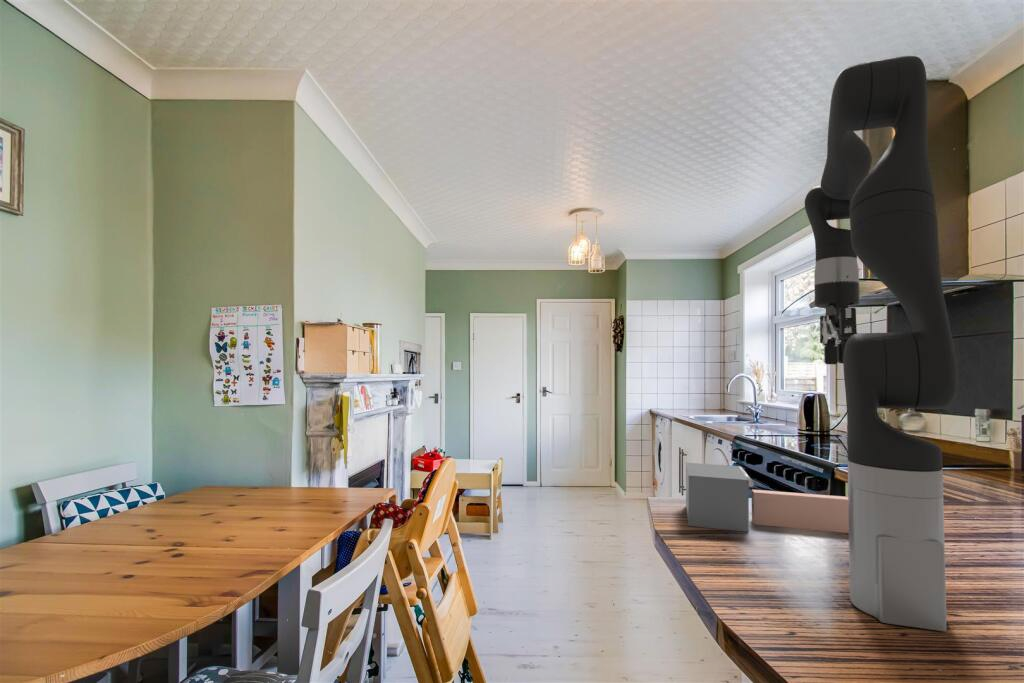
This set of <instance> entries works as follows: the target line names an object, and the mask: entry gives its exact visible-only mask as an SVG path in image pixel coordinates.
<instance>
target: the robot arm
mask: <svg viewBox="0 0 1024 683" xmlns="http://www.w3.org/2000/svg"><path fill="white" fill-rule="evenodd" d="M927 83H928V80H927V72H926V67H925V64H924V62H923V60H922V59H921V57H919V56H916V55H902V56H896V57H891V58H885V59H879V60H872V61H867V62H862V63H857V64H854V65H853V64H852V65H850V66H847V67H845V68H843V69H842V70H841V71H840V72H839V74H838V75H837V77H836V79H835V82H834V85H833V88H832V92H831V98H830V105H829V106H830V107H829V117H828V128H827V129H828V130H827V144H826V145H827V147H826V148H827V154H826V160H825V165H824V169H823V172H822V176H821V180H820V185H818V186H814V187H812V188H811V189H810V190H809V191H808V192H807V194H806V195H805V198H804V209H805V213H806V215H807V216H806V217H807V219H808V221H809V224H810V226H811V229H812V233H813V238H814V242H815V243H814V244H815V247H814V249H815V266H814V272H813V274H814V276H813V277H814V278H813V280H814V306H815V307H816V308H819V309H825V313H824V314H825V315H824V314H823V315H822V314H821V315H820V316H819V342H820V344H821V345H822V346H823V347H824V348H823V349H824V350H823V352H824V353H823V354H824V355H823V358H824V359H823V360H824V364H825V365H837V364H838V363H839V364H842V365H843V378H844V390H845V391H844V392H845V402H846V403H845V404H846V418H847V419H846V421H847V422H846V423H847V497H848V524H849V533H848V568H849V572H848V573H849V574H848V575H849V601H850V602H851V604H852V605H853V606H854V607H856V608H857V609H859V610H860V611H862V612H864V613H865V614H867V615H870V616H873V617H874V618H876V619H878V621H880V623H884V624H889V625H890V624H891V625H895V626H896V625H897V626H902V627H903V626H904V627H912V628H918V629H925V630H932V631H933V630H934V631H939V632H947V620H948V619H947V617H948V615H947V589H946V588H947V586H946V554H945V552H946V551H945V549H946V548H945V547H946V546H945V520H944V518H945V517H944V513H945V512H944V511H945V509H944V479H943V478H944V472H943V471H944V470H943V468H944V467H943V466H944V465H943V452H942V449H941V447H940V446H939V445H938V444H936V443H935V442H933V441H930V440H927V439H924V438H921V437H918V436H915V435H913V434H909V433H906V432H904V431H902V430H900V429H898V428H896V427H893V426H892V425H891V424H890V423H888V422H886V421H884V420H883V419H882V418H881V417H880V416H879V413H878V408H885V409H888V408H891V409H908V410H909V409H910V410H911V409H912V410H913V409H915V410H943V409H947V408H949V407H950V406H951V405H952V404H953V403H954V401H955V400H956V396H957V392H958V384H959V373H958V372H959V371H958V363H957V357H956V356H957V355H956V351H955V346H954V345H955V344H954V339H953V334H952V331H951V324H950V320H949V314H948V310H947V304H946V300H945V293H944V289H943V282H942V281H943V280H942V274H941V265H940V264H941V263H940V249H939V248H940V247H939V229H938V216H937V214H938V213H937V206H936V198H935V191H934V186H933V185H934V184H933V179H932V173H931V165H930V158H929V146H928V144H929V143H928V84H927ZM890 127H891V128H892V129H893V130H894V136H893V138H892V139H891V142H890V143H889V145H888V146H887V148H886V150H885V151H884V153H883V154H882V155H881V157H880V158H879V160H878V161H877V162H876V164H875V165H874V166H873V167H872V162H873V161H872V160H873V159H872V158H873V157H872V156H873V155H872V152H871V150H870V148H869V146H868V145H867V144H866V143H865V141H864V140H863V139H862V138H861V137H860V136H859V135H857V134H856V132H859V131H867V130H875V129H881V128H882V129H883V128H890ZM838 220H839V221H840V220H849V226H850V227H849V229H848V228H841V227H840V228H839V227H834V226H832V225H831V224H829V222H828V221H838ZM858 259H859V261H860V262H861V264H863V265H864V266H865V267H866V268H867V269H868V270H869V272H870V273H872V274H873V275H874V276H875V277H876V278H877V279H878V280H879V281H880V282H881V283H882V284H883V285H884V286H885V287H886V288H887V289H888V290H889V291H890V292H891V293H892V295H894V297H895V298H896V299H897V301H898V302H899V304H900V305H901V306H902V309H903V310H904V312H905V314H906V316H907V318H908V320H909V323H910V326H911V328H912V332H863V333H862V332H861V333H860V332H859V333H857V332H858V331H857V330H858V329H857V309H856V307H857V306H858V305H859V304H860V273H859V272H860V271H859V270H860V269H859V264H858Z"/></svg>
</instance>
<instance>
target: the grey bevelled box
mask: <svg viewBox="0 0 1024 683" xmlns="http://www.w3.org/2000/svg"><path fill="white" fill-rule="evenodd" d="M754 486H755V482H754V481H753V479H752V478H751V477H750V475H748V473H747V471H745V469H744V468H743V467H742V466H740V465H739V466H738V465H725V464H709V463H699V462H698V463H697V462H696V463H694V462H685V508H686V509H685V510H686V517H687V523H688V524H687V525H688V526H690V527H699V528H707V529H716V530H717V529H718V530H725V531H726V530H727V531H737V532H746V533H749V529H750V528H749V527H750V520H749V519H750V515H749V514H750V513H749V511H750V509H749V498H750V496H749V495H750V494H749V492H750V491H749V488H753V487H754Z"/></svg>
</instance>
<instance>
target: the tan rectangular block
mask: <svg viewBox="0 0 1024 683" xmlns="http://www.w3.org/2000/svg"><path fill="white" fill-rule="evenodd" d="M751 521H752V523H753V525H756V526H757V525H758V526H768V527H769V526H771V527H777V528H778V527H779V528H780V527H781V528H789V529H800V530H812V531H821V532H822V531H823V532H832V533H842V534H843V533H844V534H849V524H848V496H842V495H827V494H817V493H816V494H815V493H814V494H813V493H802V492H801V493H800V492H791V491H790V492H789V491H788V492H787V491H773V490H765V489H764V490H762V489H751Z"/></svg>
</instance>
